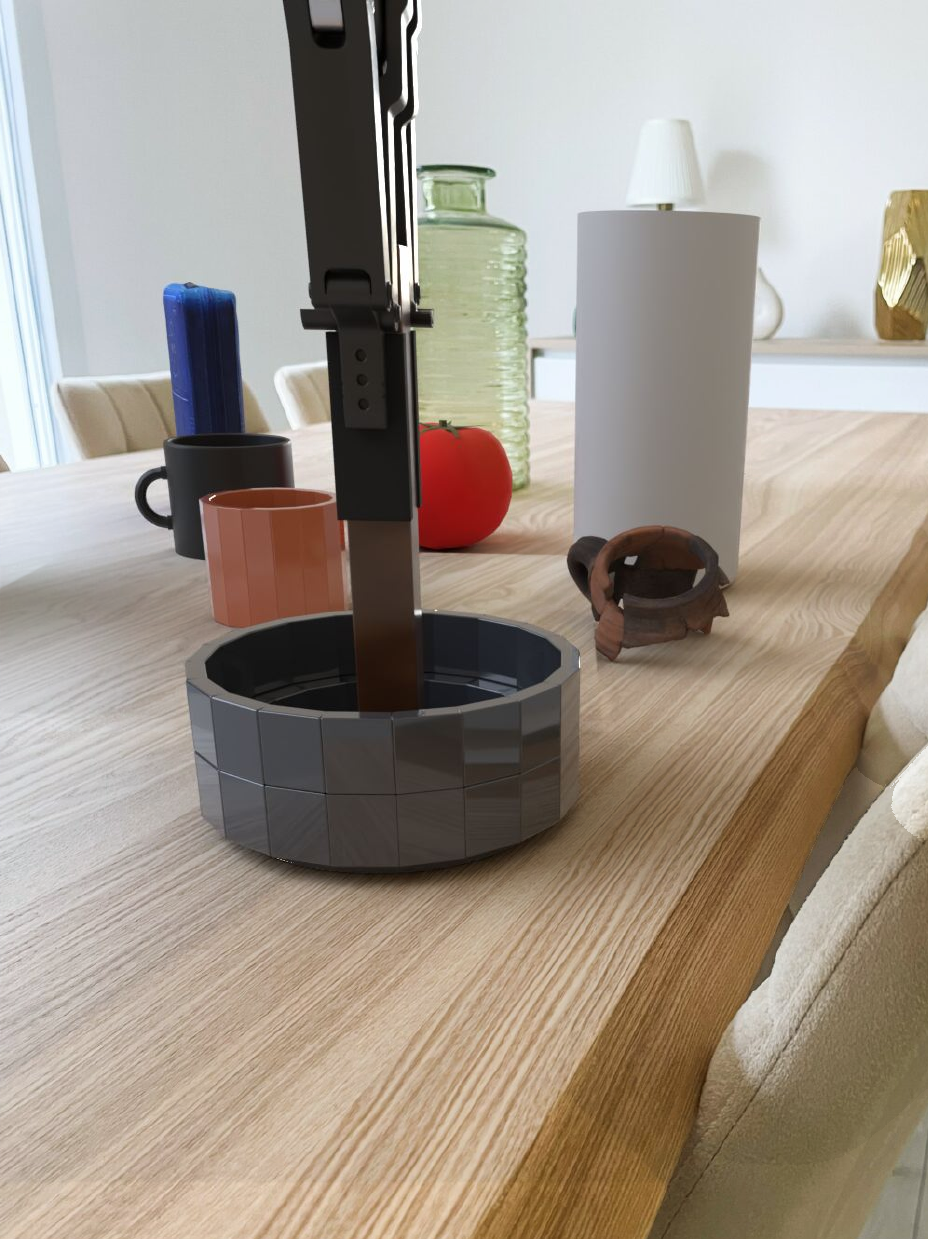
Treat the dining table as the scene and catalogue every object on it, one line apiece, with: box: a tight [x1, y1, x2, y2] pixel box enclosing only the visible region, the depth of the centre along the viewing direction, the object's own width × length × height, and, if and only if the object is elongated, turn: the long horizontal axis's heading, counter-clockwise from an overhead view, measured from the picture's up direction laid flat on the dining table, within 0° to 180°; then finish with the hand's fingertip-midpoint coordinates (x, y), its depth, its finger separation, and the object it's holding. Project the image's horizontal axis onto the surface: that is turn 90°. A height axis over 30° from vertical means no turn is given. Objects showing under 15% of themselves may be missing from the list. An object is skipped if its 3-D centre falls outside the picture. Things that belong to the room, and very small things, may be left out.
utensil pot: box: [199, 487, 350, 629], centre depth 76 cm, size 8×8×8 cm
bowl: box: [183, 608, 582, 875], centre depth 50 cm, size 16×16×6 cm
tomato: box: [418, 419, 514, 550], centre depth 101 cm, size 12×12×10 cm
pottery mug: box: [566, 525, 731, 662], centre depth 74 cm, size 12×10×8 cm
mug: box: [134, 432, 296, 561], centre depth 94 cm, size 9×12×9 cm
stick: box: [334, 244, 425, 712], centre depth 47 cm, size 2×2×20 cm
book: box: [162, 281, 247, 437], centre depth 111 cm, size 14×5×20 cm, turn 25°
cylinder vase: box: [572, 209, 762, 590], centre depth 87 cm, size 12×12×25 cm
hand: (381, 511), depth 47 cm, fingers closed on stick, 2 cm apart
